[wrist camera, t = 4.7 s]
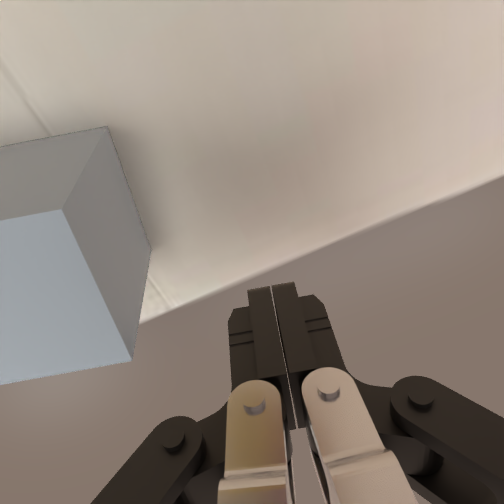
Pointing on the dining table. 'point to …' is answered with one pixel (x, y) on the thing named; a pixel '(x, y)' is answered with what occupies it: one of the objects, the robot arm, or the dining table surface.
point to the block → (68, 257)
